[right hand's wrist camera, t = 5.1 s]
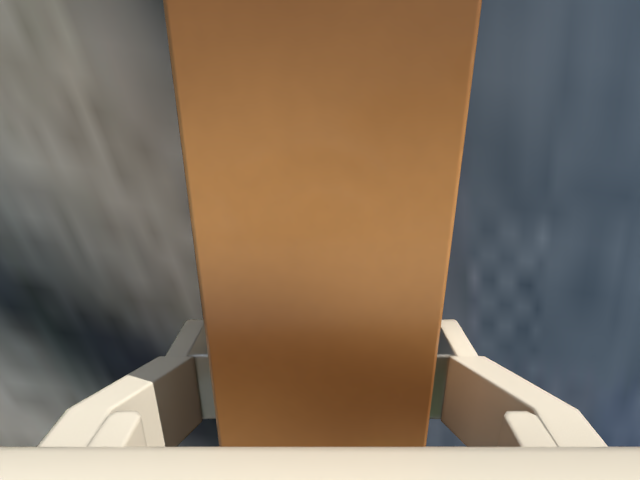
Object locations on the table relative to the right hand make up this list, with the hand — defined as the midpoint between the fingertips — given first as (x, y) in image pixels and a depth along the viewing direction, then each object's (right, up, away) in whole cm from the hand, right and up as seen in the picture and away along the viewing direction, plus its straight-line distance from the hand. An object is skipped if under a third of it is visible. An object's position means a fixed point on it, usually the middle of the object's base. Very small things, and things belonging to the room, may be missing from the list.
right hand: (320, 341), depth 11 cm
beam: (0, +19, -4) cm, 19 cm away
